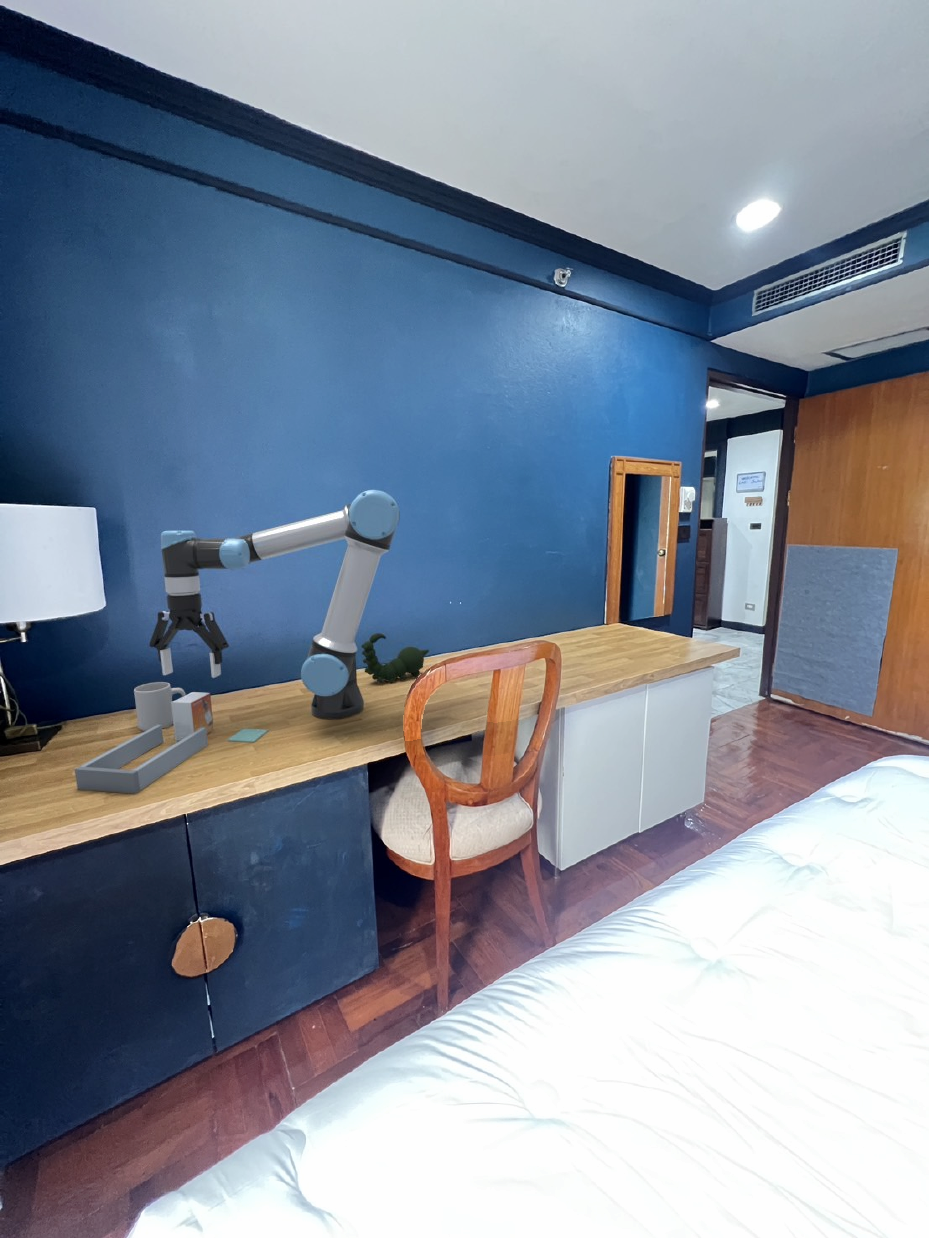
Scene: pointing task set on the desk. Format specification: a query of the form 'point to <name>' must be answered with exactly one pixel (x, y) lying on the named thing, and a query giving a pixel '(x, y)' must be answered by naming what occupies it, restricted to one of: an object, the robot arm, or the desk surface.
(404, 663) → the toy figurine
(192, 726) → the small box
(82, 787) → the channel
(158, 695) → the mug
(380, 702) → the desk surface
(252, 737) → the pad
